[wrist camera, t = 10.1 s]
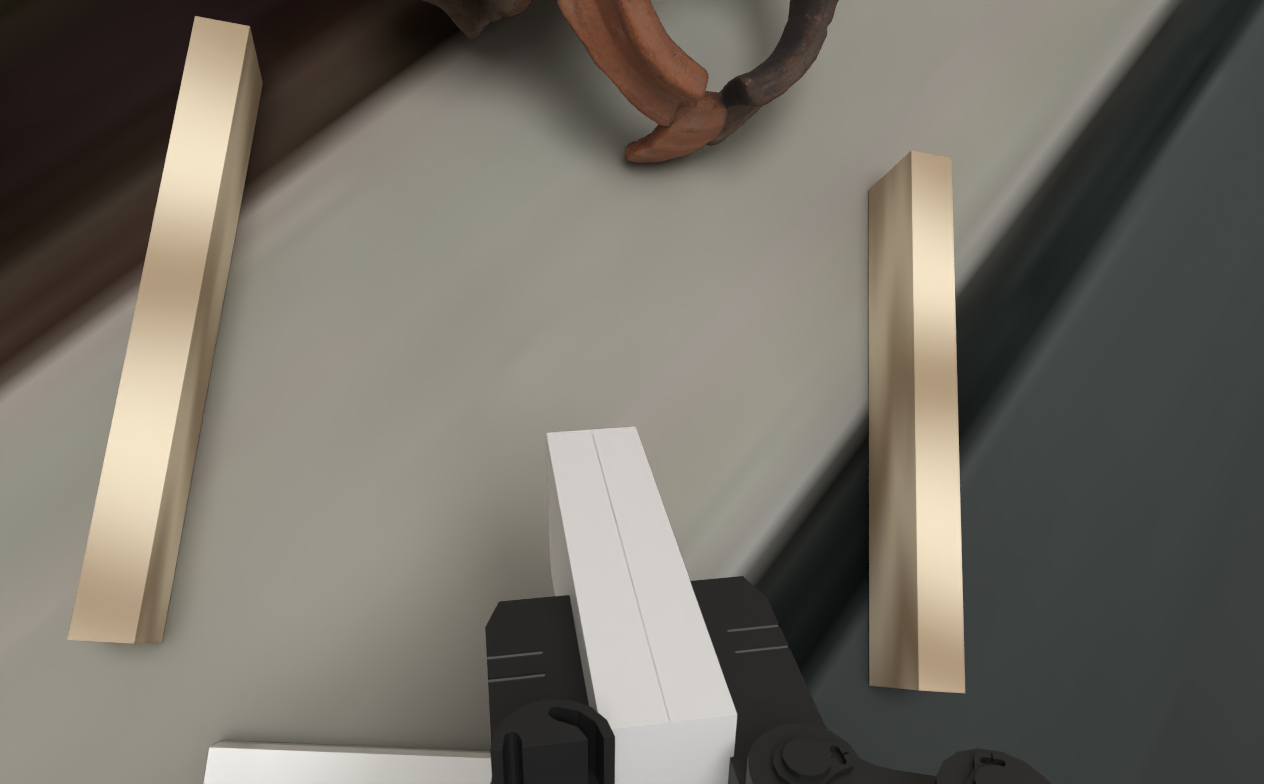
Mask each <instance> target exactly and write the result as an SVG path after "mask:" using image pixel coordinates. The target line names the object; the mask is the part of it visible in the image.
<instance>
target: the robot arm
mask: <svg viewBox="0 0 1264 784" xmlns="http://www.w3.org/2000/svg"><path fill="white" fill-rule="evenodd" d="M546 438H547V472H548V506H549V540H550V568H551V574H552V581H553V588H554V594H555V596H553V597H543V598H532V599H522V600H511V601H501V602H499V603H498V605H497V607H496V609H495V610H494V612H493V614H492V616H491V618H490V620H489V622H488V624H487V626H486V627H485V628H486V647H487V666H488V685H489V704H490V724H491V743H492V746H491V751H490V755H491V769H492V779H491V783H490V784H1051V783H1050V782H1049V781H1048V780H1047V779H1046V778H1045V777H1044V776H1042V775H1041V774H1040V773H1038V772H1037V771H1036V770H1034V769H1033V768H1032V767H1031V766H1029V765H1028V764H1027V763H1025V762H1024V761H1022V760H1019V759H1017V758H1014V757H1012V756H1010V755H1007V754H1005V753H1003V752H999V751H992V750H985V749H972V750H966V751H960V752H957V753H955V754H954V755H952V756H951V757H949V758H948V759H946V760H945V761H943V763H942V765H941V767H940V769H939V772H938V774H937V776H931V775H924V774H918V773H911V772H904V771H898V770H892V769H888V768H884V767H880V766H875V765H873V764H871V763H868V762H866V761H864V760H862V759H860V758H859V757H858V756H857V754H856V753H855V751H854V750H853V749H852V747H851V746H850V745H849V744H848V743H847V742H846V741H844V740H843V739H841V738H840V737H838V736H837V735H835V734H834V733H832V732H831V731H828V730H827V728H826V726H825V725H824V723H823V721H822V718H821V716H820V714H819V712H818V710H817V707H816V705H815V703H814V701H813V699H812V696H811V694H810V692H809V690H808V688H807V685H806V683H805V681H804V679H803V677H802V674H801V672H800V670H799V668H798V666H797V663H796V661H795V659H794V657H793V655H792V652H791V650H790V649H788V644H787V641H786V639H785V637H784V635H783V633H782V630H781V628H779V627H778V622H777V619H776V617H775V615H774V613H773V611H772V608H771V606H770V604H769V602H768V600H767V597H766V596H764V595H763V594H762V593H761V592H760V591H759V590H758V589H756V588H755V587H754V586H753V585H752V584H751V583H750V582H749V581H747V580H746V579H745V578H744V577H743V576H739V577H729V578H718V579H708V580H697V581H690V580H689V577H688V574H687V571H686V568H685V565H684V563H683V560H682V557H681V554H680V551H679V548H678V546H677V543H676V540H675V537H674V534H673V532H672V529H671V526H670V523H669V520H668V517H667V515H666V512H665V509H664V506H663V503H662V500H661V498H660V495H659V492H658V489H657V486H656V483H655V481H654V478H653V475H652V472H651V469H650V467H649V464H648V461H647V458H646V455H645V452H644V450H643V447H642V444H641V441H640V438H639V435H638V433H637V430H636V427H624V428H610V429H596V430H581V431H567V432H552V433H546Z"/></svg>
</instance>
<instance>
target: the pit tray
mask: <svg viewBox="0 0 1264 784" xmlns="http://www.w3.org/2000/svg"><path fill="white" fill-rule="evenodd" d="M491 779H492V769H491V755H490V751H472V750H448V749H423V748H399V747H374V746H350V745H325V744H301V743H276V742H252V741H227V740H221V741H219V742H218V743H216V744H214V745H213V746H211V747H209V753H208V759H207V766H206V772H205V778H204V784H490V783H491Z"/></svg>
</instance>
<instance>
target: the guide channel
mask: <svg viewBox="0 0 1264 784" xmlns="http://www.w3.org/2000/svg"><path fill="white" fill-rule="evenodd" d="M262 85H263V83H262V78H261V74H260V69H259V65H258V60H257V56H256V52H255V47H254V43H253V38H252V34H251V30H250V26H245V25H240V24H234V23H229V22H224V21H218V20H213V19H208V18H202V17H197V16H195V19H194V24H193V29H192V34H191V39H190V44H189V49H188V53H187V58H186V63H185V68H184V73H183V78H182V83H181V88H180V93H179V97H178V102H177V107H176V112H175V117H174V122H173V127H172V132H171V136H170V141H169V146H168V151H167V156H166V161H165V166H164V171H163V176H162V180H161V185H160V190H159V195H158V200H157V205H156V210H155V215H154V220H153V224H152V229H151V234H150V239H149V244H148V249H147V254H146V259H145V263H144V268H143V273H142V278H141V283H140V288H139V293H138V298H137V303H136V307H135V312H134V317H133V322H132V327H131V332H130V337H129V342H128V347H127V351H126V356H125V361H124V366H123V371H122V376H121V381H120V386H119V390H118V395H117V400H116V405H115V410H114V415H113V420H112V425H111V430H110V434H109V439H108V444H107V449H106V454H105V459H104V464H103V469H102V474H101V478H100V483H99V488H98V493H97V498H96V503H95V508H94V513H93V517H92V522H91V527H90V532H89V537H88V542H87V547H86V552H85V557H84V561H83V566H82V571H81V576H80V581H79V586H78V591H77V596H76V601H75V605H74V610H73V615H72V620H71V625H70V630H69V635H68V640H82V641H99V642H116V643H132V644H140V643H162V640H163V634H164V629H165V623H166V618H167V612H168V606H169V601H170V595H171V590H172V584H173V579H174V573H175V568H176V562H177V557H178V551H179V545H180V540H181V534H182V529H183V523H184V518H185V512H186V507H187V501H188V496H189V490H190V484H191V479H192V473H193V468H194V462H195V457H196V451H197V446H198V440H199V434H200V429H201V423H202V418H203V412H204V407H205V401H206V396H207V390H208V385H209V379H210V373H211V368H212V362H213V357H214V351H215V346H216V340H217V335H218V329H219V324H220V318H221V312H222V307H223V301H224V296H225V290H226V285H227V279H228V274H229V268H230V263H231V257H232V251H233V246H234V240H235V235H236V229H237V224H238V218H239V213H240V207H241V202H242V196H243V190H244V185H245V179H246V174H247V168H248V163H249V157H250V152H251V146H252V141H253V135H254V129H255V124H256V118H257V113H258V107H259V102H260V96H261V91H262ZM869 686H879V687H890V688H900V689H911V690H922V691H939V692H956V693H965V670H964V631H963V592H962V553H961V514H960V475H959V436H958V397H957V358H956V319H955V280H954V242H953V203H952V164H951V158H948V157H943V156H938V155H932V154H927V153H922V152H916V151H910V152H909V153H908V154H907V155H906V156H905V157H904V158H903V159H902V160H901V161H900V162H899V163H898V164H896V165H895V166H894V167H893V168H892V169H891V170H890V171H889V172H888V173H887V174H886V175H885V176H884V177H883V178H882V179H880V180H879V181H878V182H877V183H876V184H875V185H874V186H873V187H872V188H871V189H870V190H869Z"/></svg>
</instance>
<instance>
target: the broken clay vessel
mask: <svg viewBox="0 0 1264 784" xmlns="http://www.w3.org/2000/svg"><path fill="white" fill-rule="evenodd" d="M423 1H426V2H429V3H431V4H434V5H436V6H438V7H440V8H441V9H442V10H443V11H444V12H445V13H446V14H447V15H448V16H449V17H450V18H451V19H452V21H453V22H454V23H455V24H456V26H457V27H458V28H459V29H460V30H461V31H462V32H463V33H464V35H465V36H466V37H467V38H469V39H475V38H476V37H478V36H479V35H480V34H481V33H482V31H483V30H484V28H485V27H486V25H487V24H488V23H490V22H494V21H497V20H499V19H500V18H502V17H503V16H506V17H511V16H513V15H517V14H519V13H521V12H522V11H524V10H525V9H526V8H527V7H528V6H529V5H530V4H531V2H532V1H533V0H423ZM838 1H839V0H790V8H789V16H788V22H787V24H786V26H785V29H784V32H783V34H782V37H781V39H780V41H779V43H778V44H777V46H776V48H775V50H774V51H773V53H772V54H771V55H770V56H769V58H768V59H767V60H766V61H765V62H763V63H762V64H760V65H759V66H757V67H756V68H755V69H754V70H752V71H750V72H749V73H745V74H743V75H740V76H737V77H735V78H734V79H732V80H731V81H729V82H728V83H727V85H725V86H724V88H723V89H722V90H721V91H720V92H719V93H717V92H709V91H705V90H706V86H707V82H708V73H707V71H706V69H705V68H703V67H702V66H700V65H699V64H698V63H696V62H695V61H694V60H693V59H692V58H691V57H689V56H688V55H687V54H686V53H685V52H684V51H683V50H682V49H681V48H680V47H679V46H678V45H677V44H676V43H675V42H674V41H673V40H672V39H671V38H670V37H669V35H668V34H667V33H666V31H665V29H664V27H663V26H662V24H661V22H660V20H659V18H658V16H657V14H656V12H655V10H654V8H653V6H652V3H651V0H557V4H558V6H559V8H560V11H561V12H562V14H563V16H564V17H565V19H566V20H567V21H568V22H569V24H570V26H571V27H572V29H573V30H574V32H575V33H576V35H577V36H578V38H579V39H580V40H581V42H582V43H583V44H584V46H585V47H586V49H587V52H588V53H589V55H590V56H591V58H592V59H593V61H594V63H595V64H596V65H597V66H598V67H599V68H600V69H601V70H602V71H603V72H604V73H605V74H606V75H607V76H608V77H609V78H610V79H611V80H612V82H613V83H614V84H615V85H616V86H617V87H618V88H619V90H620V92H621V93H622V94H623V95H624V96H625V97H626V98H627V100H628V101H629V102H630V103H631V104H632V105H633V106H635V107H636V108H637V109H638V110H639V111H640V112H642V113H643V114H644V115H645V116H647V117H649V118H650V119H651V120H653V121H655V122H657V123H658V126H657V127H656V128H655V130H654V131H653V132H652V133H651V134H648V135H647V136H646V137H644V138H641V139H639V140H638V141H634V142H631V143H630V144H628V145H627V146H626V147H625V158H626V159H627V160H628V161H632V162H642V163H644V162H662V161H666V160H669V159H671V158H677V157H682V156H687V155H689V154H691V153H692V151H694V150H698V149H701V148H702V147H704V146H705V145H710V146H712V145H716V144H718V143H720V142H722V141H723V140H725V139H726V138H727V137H728V136H729V135H731V134H732V133H733V132H734V131H736V130H737V129H738V128H739V127H740V126H742V125H743V124H744V123H745V122H746V121H747V120H748V119H749V118H750V117H751V116H753V115H754V114H755V113H756V112H757V111H758V110H759V109H760V108H761V107H762V106H763V105H765V104H767V103H769V102H770V101H772V100H773V99H775V98H777V97H779V96H780V95H782V94H783V93H785V92H786V91H787V90H788V88H789V87H791V86H792V85H793V84H794V83H795V82H797V81H798V80H799V79H800V78H801V77H802V76H803V75H804V74H805V73H806V71H807V70H808V69H809V68H810V66H811V65H812V63H813V62H814V61H815V60H816V58H817V55H818V53H819V51H820V49H821V47H822V45H823V42H824V40H825V38H826V36H827V27H828V25H829V24H830V23H831V21H832V19H833V15H834V11H835V8H836V5H837V2H838Z"/></svg>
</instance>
